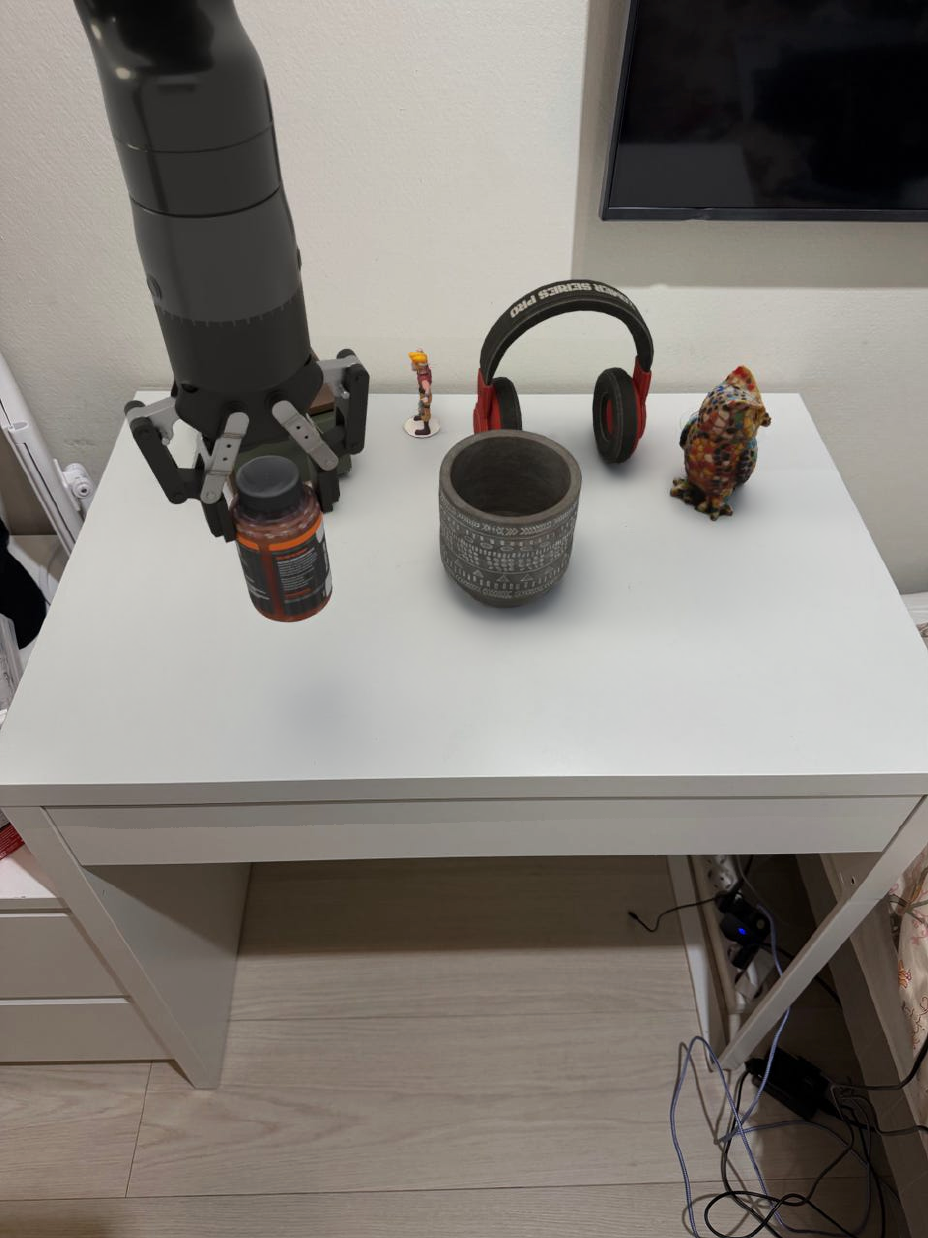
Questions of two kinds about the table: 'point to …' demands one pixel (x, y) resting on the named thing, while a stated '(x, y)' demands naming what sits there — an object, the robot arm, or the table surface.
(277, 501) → the supplement bottle
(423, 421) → the action figure
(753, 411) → the figurine
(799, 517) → the table surface
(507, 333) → the headphones
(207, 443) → the robot arm
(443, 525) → the planter
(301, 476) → the drawer
